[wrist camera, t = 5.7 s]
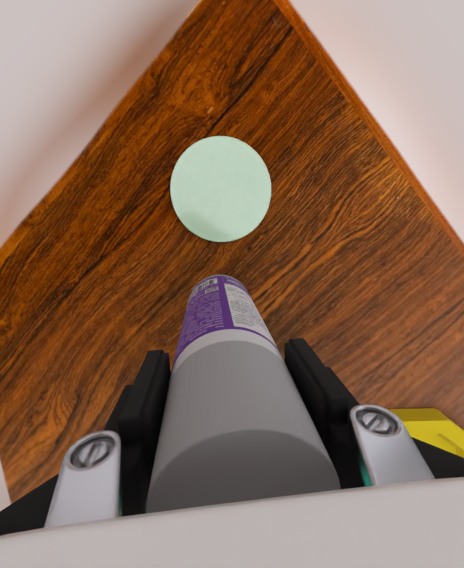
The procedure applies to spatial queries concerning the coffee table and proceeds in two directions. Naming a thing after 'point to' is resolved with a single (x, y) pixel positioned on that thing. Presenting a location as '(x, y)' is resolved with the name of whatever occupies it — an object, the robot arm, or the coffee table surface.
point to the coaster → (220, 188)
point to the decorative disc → (433, 428)
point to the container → (232, 412)
